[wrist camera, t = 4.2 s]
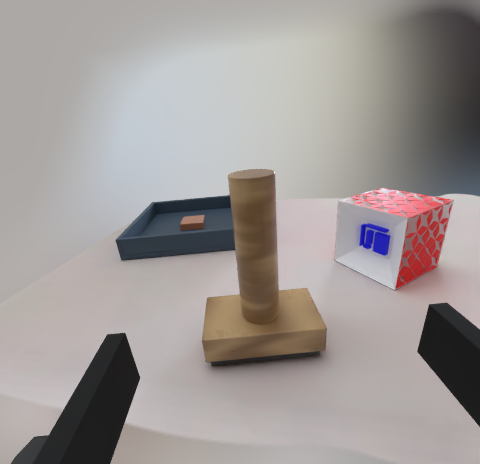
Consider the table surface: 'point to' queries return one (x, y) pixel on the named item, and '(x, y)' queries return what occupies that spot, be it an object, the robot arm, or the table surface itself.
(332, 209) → the table surface
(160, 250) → the tray
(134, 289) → the table surface
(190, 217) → the block
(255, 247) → the wooden stamp
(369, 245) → the red and white box
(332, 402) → the table surface
